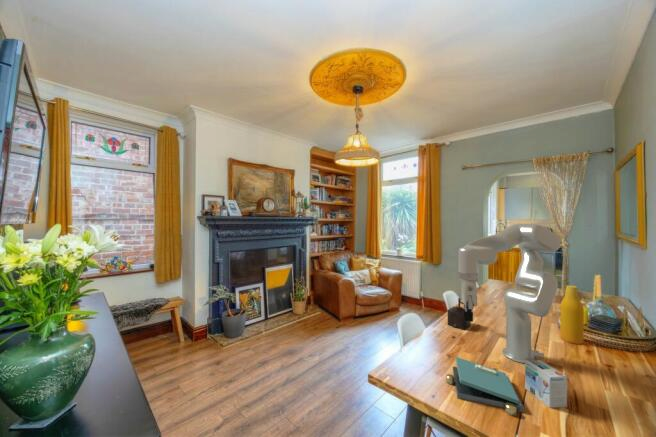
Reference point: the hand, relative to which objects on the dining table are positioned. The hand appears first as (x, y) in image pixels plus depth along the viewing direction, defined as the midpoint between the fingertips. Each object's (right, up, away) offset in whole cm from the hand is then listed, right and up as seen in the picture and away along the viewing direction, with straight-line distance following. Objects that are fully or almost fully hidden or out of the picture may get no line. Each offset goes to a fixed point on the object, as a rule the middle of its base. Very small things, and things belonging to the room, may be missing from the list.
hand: (468, 319), depth 112 cm
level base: (-2, -22, -11) cm, 25 cm away
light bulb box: (+20, -22, -16) cm, 34 cm away
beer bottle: (+71, -23, +29) cm, 80 cm away
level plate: (0, -18, -12) cm, 22 cm away
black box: (+22, -22, +46) cm, 56 cm away
